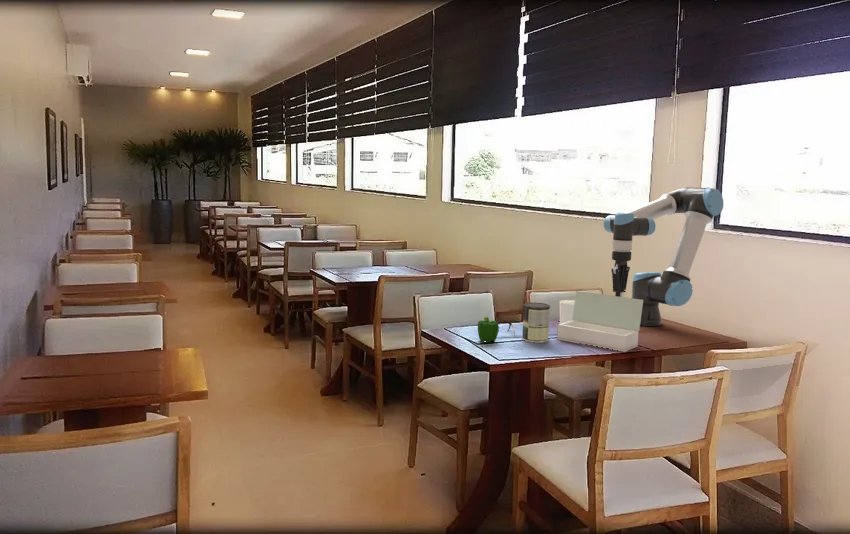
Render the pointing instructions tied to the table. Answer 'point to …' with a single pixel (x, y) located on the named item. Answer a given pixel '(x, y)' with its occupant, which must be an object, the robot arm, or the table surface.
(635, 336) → the duct channel
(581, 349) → the table surface
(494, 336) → the bell pepper
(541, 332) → the coffee can
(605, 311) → the pale green rectangular panel
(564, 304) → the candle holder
